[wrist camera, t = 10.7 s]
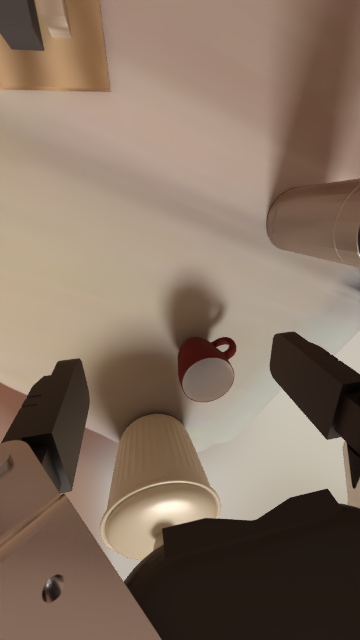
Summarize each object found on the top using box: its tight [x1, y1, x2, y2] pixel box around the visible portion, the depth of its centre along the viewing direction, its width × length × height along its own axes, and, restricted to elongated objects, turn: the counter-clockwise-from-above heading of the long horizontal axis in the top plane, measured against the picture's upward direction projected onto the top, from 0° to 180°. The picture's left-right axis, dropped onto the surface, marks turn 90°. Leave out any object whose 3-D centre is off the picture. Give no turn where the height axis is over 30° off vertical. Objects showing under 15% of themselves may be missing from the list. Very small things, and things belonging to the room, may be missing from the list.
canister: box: [100, 413, 221, 560], centre depth 42 cm, size 18×18×21 cm
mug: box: [178, 337, 236, 402], centre depth 41 cm, size 10×8×10 cm
